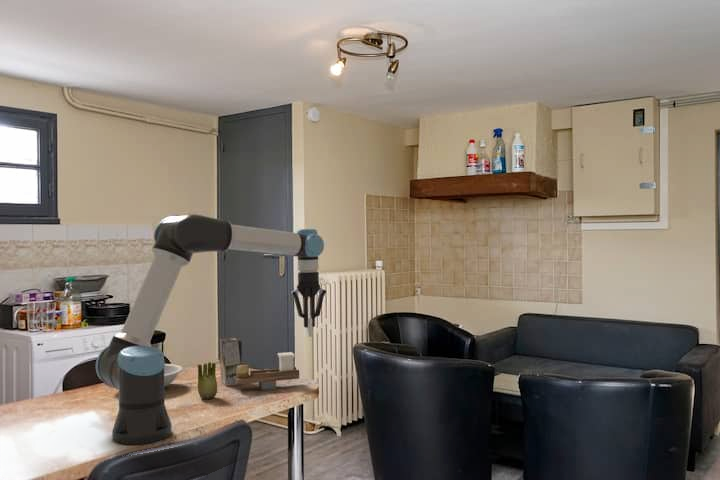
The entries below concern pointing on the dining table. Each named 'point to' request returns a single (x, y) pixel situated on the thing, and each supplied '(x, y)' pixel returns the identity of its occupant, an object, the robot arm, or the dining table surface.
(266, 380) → the beam
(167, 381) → the soup bowl
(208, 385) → the fennel bulb
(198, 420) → the dining table surface
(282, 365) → the white rounded block
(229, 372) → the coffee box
